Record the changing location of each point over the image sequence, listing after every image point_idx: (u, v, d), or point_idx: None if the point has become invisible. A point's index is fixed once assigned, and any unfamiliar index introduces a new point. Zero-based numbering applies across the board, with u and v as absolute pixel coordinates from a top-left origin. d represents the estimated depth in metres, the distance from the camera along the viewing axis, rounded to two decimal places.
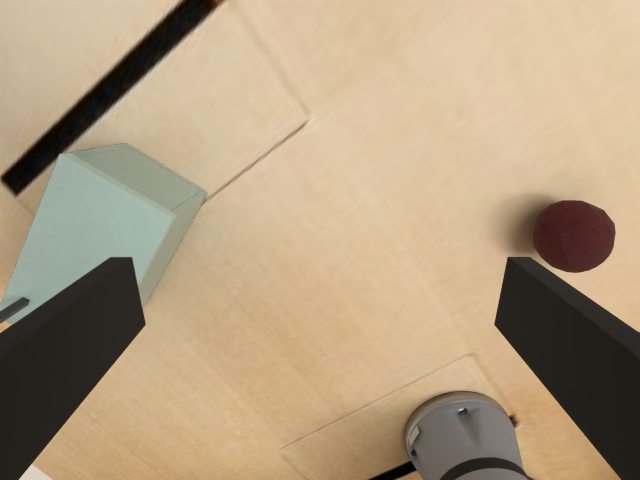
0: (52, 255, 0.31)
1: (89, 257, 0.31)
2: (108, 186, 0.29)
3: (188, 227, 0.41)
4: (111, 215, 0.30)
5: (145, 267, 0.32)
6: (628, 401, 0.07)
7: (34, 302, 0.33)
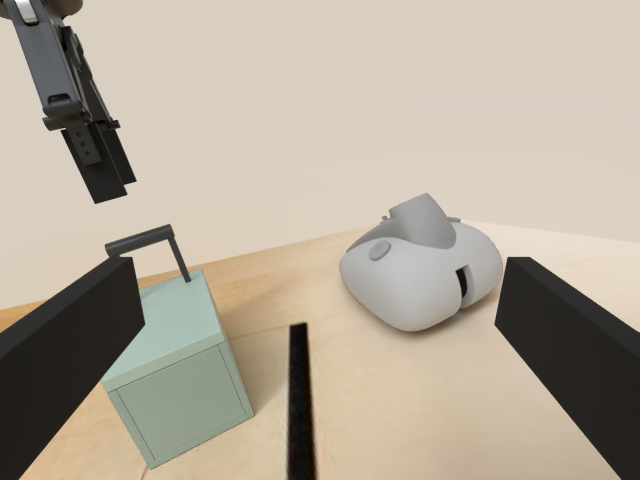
0: (187, 301, 0.38)
1: (160, 318, 0.36)
2: (171, 349, 0.30)
3: None
4: (157, 342, 0.32)
5: None
6: (628, 401, 0.07)
7: (182, 284, 0.43)
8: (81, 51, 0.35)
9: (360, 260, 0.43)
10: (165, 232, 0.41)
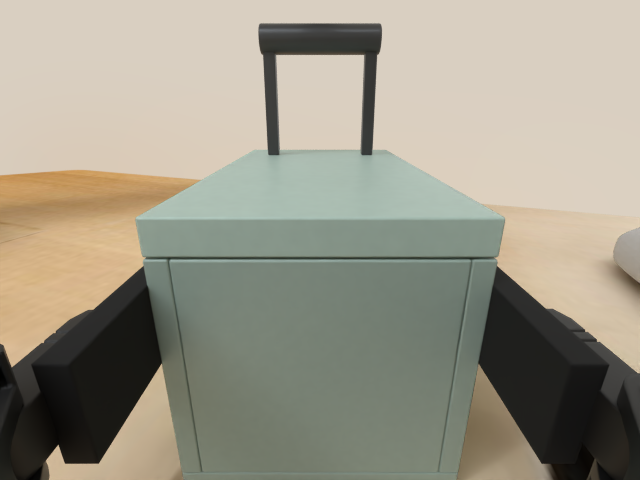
0: (369, 167, 0.18)
1: (313, 173, 0.16)
2: (344, 213, 0.10)
3: None
4: (305, 195, 0.12)
5: (202, 180, 0.15)
6: (529, 367, 0.08)
7: (355, 155, 0.23)
8: None
9: None
10: (368, 33, 0.20)
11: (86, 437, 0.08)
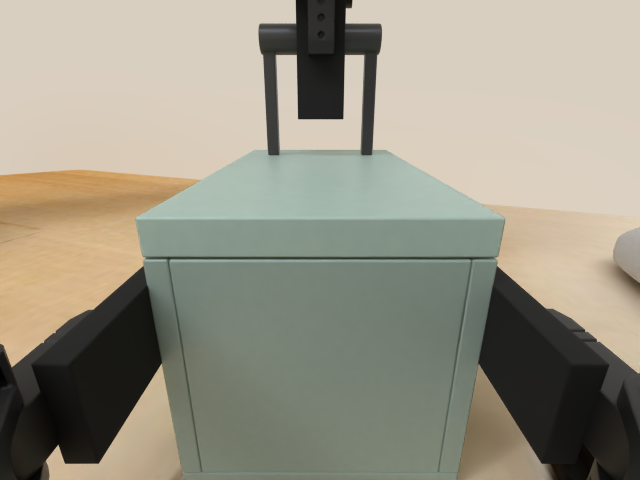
0: (369, 167, 0.18)
1: (313, 173, 0.16)
2: (344, 213, 0.10)
3: None
4: (305, 195, 0.12)
5: (202, 180, 0.15)
6: (529, 367, 0.08)
7: (355, 155, 0.23)
8: None
9: None
10: (368, 33, 0.20)
11: (86, 437, 0.08)
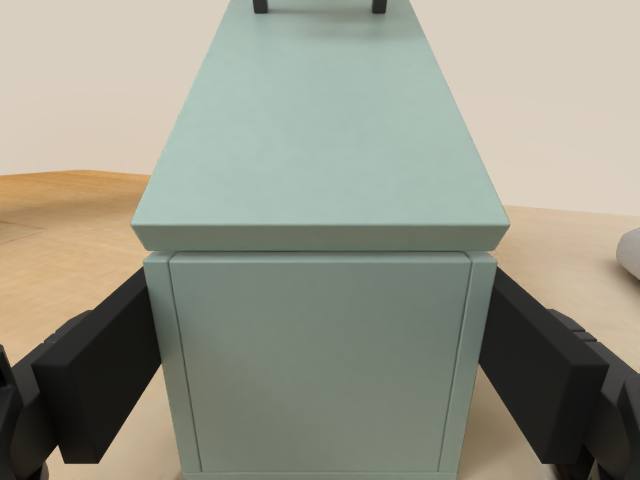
0: (380, 62, 0.15)
1: (311, 83, 0.14)
2: (345, 214, 0.09)
3: None
4: (303, 161, 0.11)
5: (183, 108, 0.13)
6: (529, 367, 0.08)
7: (364, 13, 0.18)
8: None
9: None
10: None
11: (86, 437, 0.08)
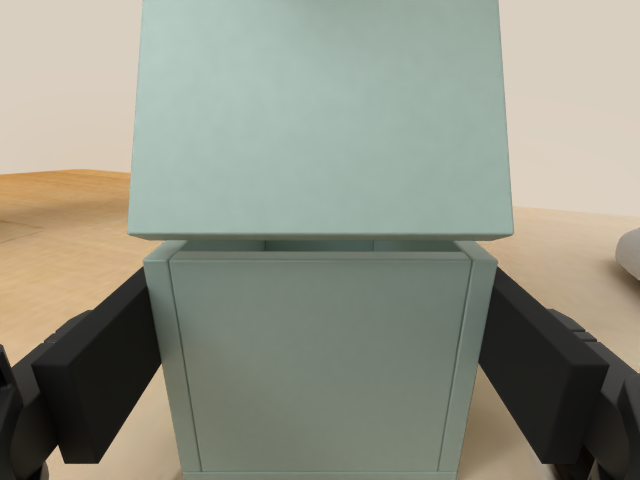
0: None
1: None
2: (346, 221, 0.09)
3: None
4: (301, 140, 0.09)
5: (143, 35, 0.10)
6: (529, 367, 0.08)
7: None
8: None
9: None
10: None
11: (86, 437, 0.08)
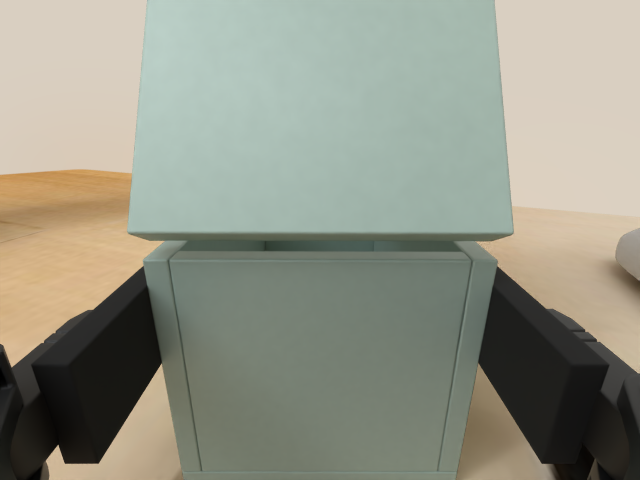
0: None
1: None
2: (346, 220, 0.09)
3: None
4: (302, 140, 0.09)
5: (146, 39, 0.10)
6: (529, 367, 0.08)
7: None
8: None
9: None
10: None
11: (86, 437, 0.08)
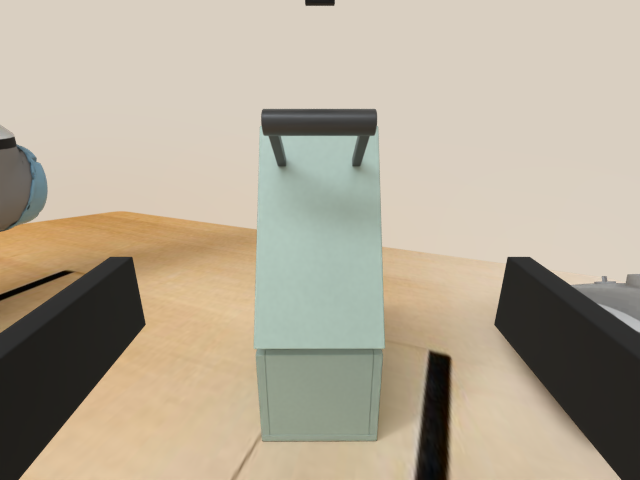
0: (350, 231, 0.28)
1: (315, 252, 0.28)
2: (328, 344, 0.27)
3: None
4: (312, 315, 0.27)
5: (256, 275, 0.27)
6: (628, 401, 0.07)
7: (347, 165, 0.29)
8: None
9: None
10: (363, 132, 0.22)
11: None
